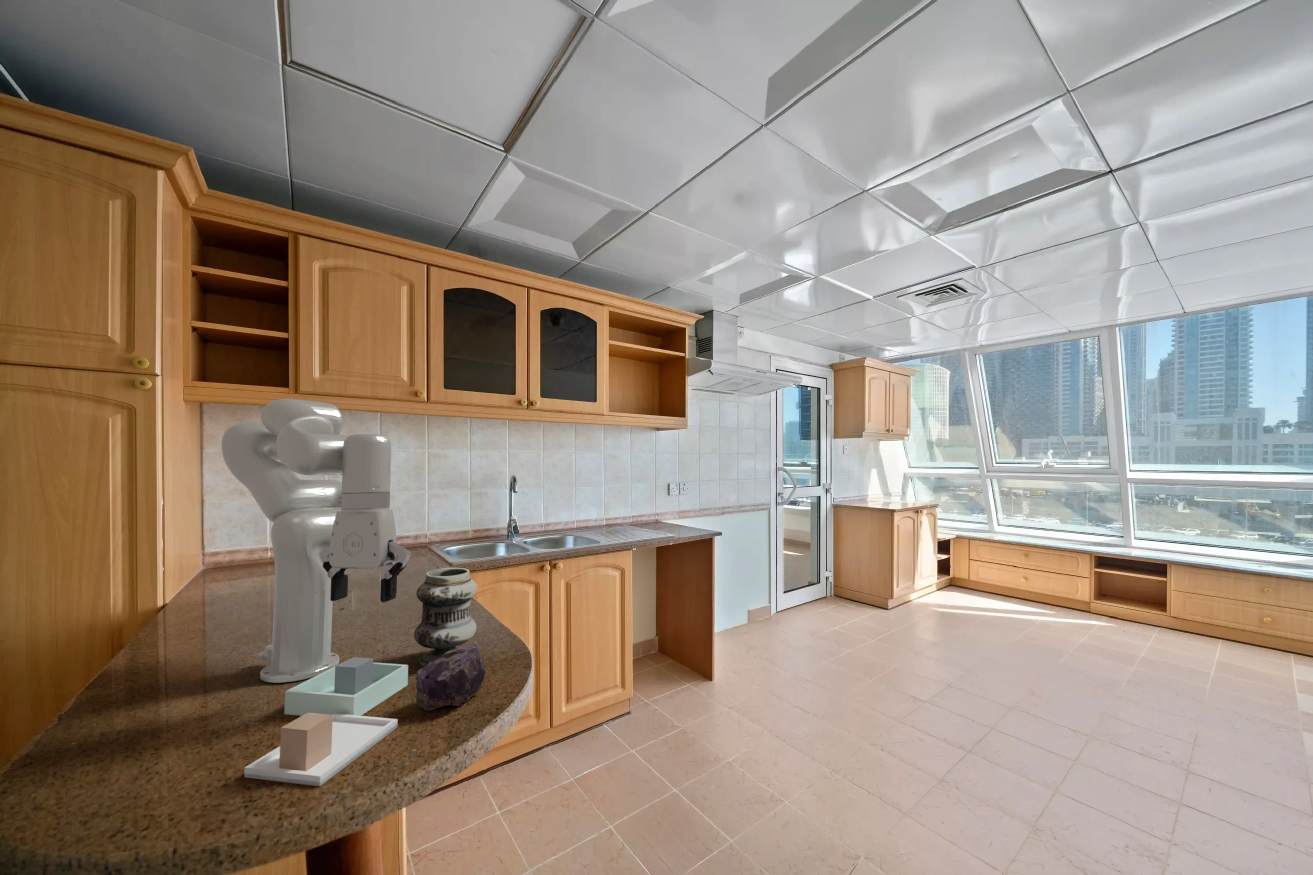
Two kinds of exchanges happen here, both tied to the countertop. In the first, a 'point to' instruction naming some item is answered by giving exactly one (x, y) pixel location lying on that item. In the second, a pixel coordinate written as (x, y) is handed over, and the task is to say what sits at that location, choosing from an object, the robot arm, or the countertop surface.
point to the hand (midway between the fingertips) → (363, 599)
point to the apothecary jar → (445, 612)
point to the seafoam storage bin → (323, 700)
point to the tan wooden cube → (306, 741)
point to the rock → (450, 678)
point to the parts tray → (347, 745)
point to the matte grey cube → (353, 675)
